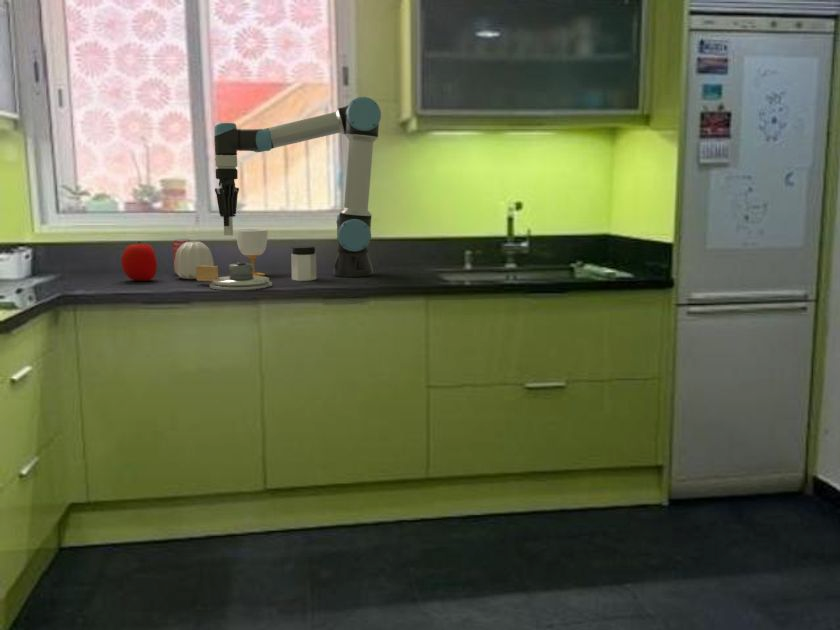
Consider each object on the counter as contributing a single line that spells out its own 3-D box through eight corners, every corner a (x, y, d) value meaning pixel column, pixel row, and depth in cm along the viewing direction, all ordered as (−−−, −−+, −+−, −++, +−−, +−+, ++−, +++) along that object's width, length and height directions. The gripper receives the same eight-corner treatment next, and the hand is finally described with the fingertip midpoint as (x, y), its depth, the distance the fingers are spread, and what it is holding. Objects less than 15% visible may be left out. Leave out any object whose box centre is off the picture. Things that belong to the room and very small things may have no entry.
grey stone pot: (257, 278, 285) (257, 261, 284) (245, 280, 277) (245, 264, 276) (237, 277, 287) (236, 261, 286) (225, 279, 280) (224, 263, 279)
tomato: (164, 279, 299) (162, 240, 297) (146, 283, 288) (144, 243, 286) (134, 278, 302) (132, 239, 300) (115, 282, 292) (113, 242, 289)
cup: (251, 272, 321) (249, 228, 318) (275, 274, 315) (273, 229, 312) (231, 275, 311) (229, 230, 308) (255, 277, 305) (253, 231, 302)
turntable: (278, 280, 288) (278, 265, 288) (252, 287, 271) (251, 271, 270) (213, 277, 296) (212, 262, 295) (183, 284, 278) (182, 268, 277)
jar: (320, 279, 300) (319, 246, 297) (301, 281, 294) (300, 248, 292) (307, 277, 306) (306, 245, 304) (288, 279, 301) (287, 246, 299)
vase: (202, 281, 295) (201, 243, 293) (167, 280, 298) (166, 243, 296) (220, 276, 308) (219, 240, 306) (186, 275, 312) (185, 239, 309)
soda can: (194, 274, 314) (193, 240, 312) (175, 275, 312) (173, 240, 309) (192, 272, 321) (191, 238, 318) (173, 273, 318) (171, 239, 316)
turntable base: (282, 283, 289) (282, 280, 289) (253, 291, 270) (253, 288, 269) (229, 281, 295) (229, 278, 295) (197, 289, 276) (197, 286, 275)
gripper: (226, 167, 296) (228, 233, 300) (207, 167, 284) (209, 236, 288) (245, 168, 294) (246, 234, 298) (226, 167, 281) (228, 236, 286)
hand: (228, 235), depth 293 cm, fingers closed
